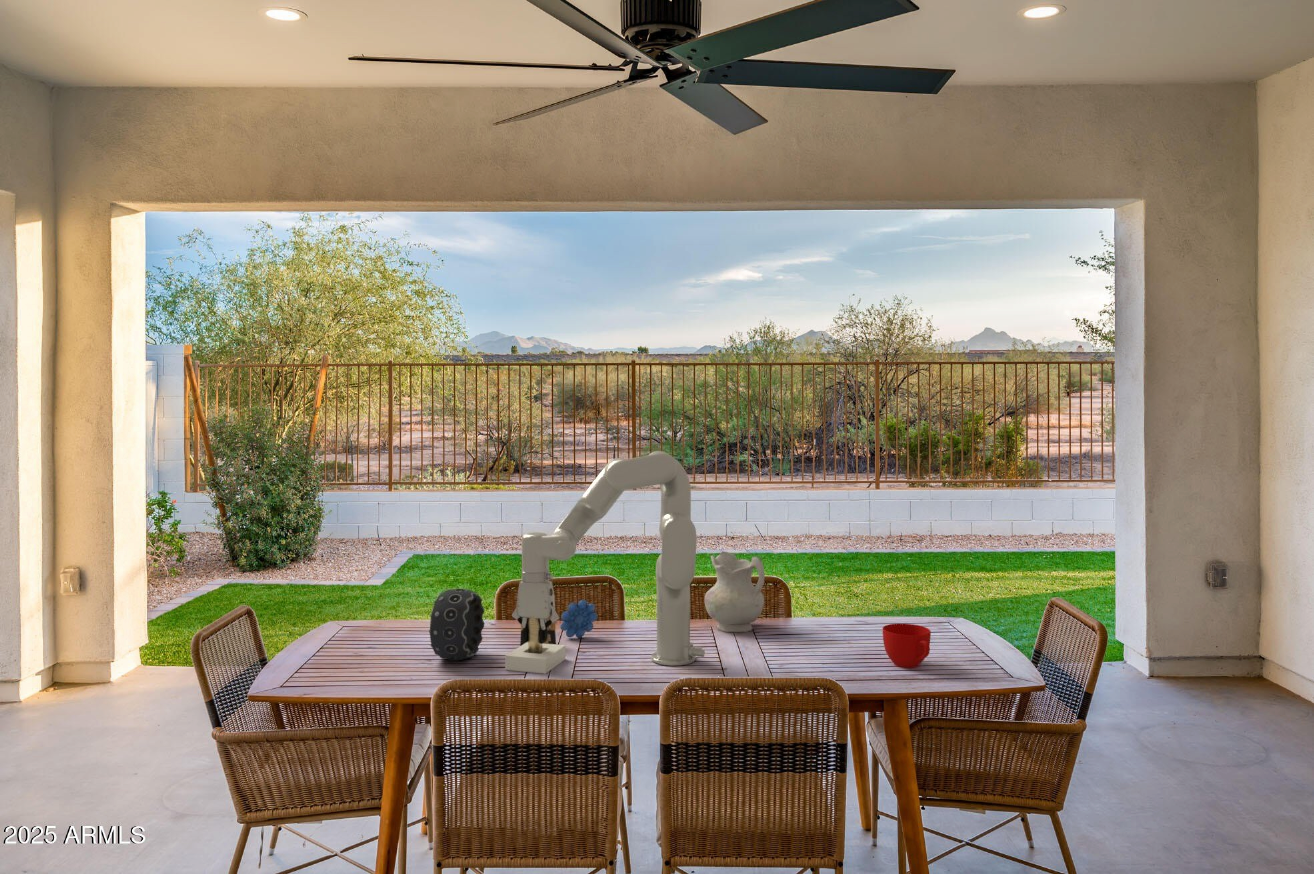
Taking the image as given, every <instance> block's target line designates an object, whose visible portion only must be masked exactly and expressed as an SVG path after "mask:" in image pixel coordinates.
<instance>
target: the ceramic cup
mask: <svg viewBox="0 0 1314 874" xmlns="http://www.w3.org/2000/svg"><path fill="white" fill-rule="evenodd" d="M931 633H932V632H931V629H929V628H927V627H925V626H923V625H918V624H912V623H891V624H886V625H884V626H882V642H883V647H884V650H885V653H886V655H887V656H888V658H889V659H890V661H891V662H892V663H893V665H895V666H896V667H899V668H903V669H905V668H906V669H914V668H918V667H919V665H921V663H922V662H923V661H925V659H926V658H927V657H928V656H929V654H930V651H931V647H930V646H931V645H930V644H931Z"/></svg>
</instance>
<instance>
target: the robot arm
mask: <svg viewBox="0 0 1314 874" xmlns="http://www.w3.org/2000/svg"><path fill="white" fill-rule="evenodd" d="M653 486H659V487H660V494H661V495H660V517H659V518H660V521H659V526H658V527H659V528H658V529H659V530H658V531H659V535H660V537H661V554H659V556H658V558H657V560H656V563H655V579H656V581H655V582H656V651H655V652H654V653H652V654H651V661H652V662H653V663H655V664H658V665H663V666H671V667H672V666H674V667H675V666H685V665H689V664H691V663H694V662H695V660H696V657H700V658H704V657H705V649H703V648H702V647H701V648H700V647H695V646H694V642H691V587H690V584H692V581H694V580H693V579H694V578H695V573H696V559H697V537H698V536H697V529H696V526H695V523H694V522H693V521H692V518H691V517H692V515H691V511H692V507H691V506H692V504H691V503H692V496H691V495H692V491H691V482H690V479H689V476H688V473H687V472H686V470H685V468H684V467H683V465H682V464H681V463H680V462H679V461H678V460H677V459H676V458H674V457H673V456H672V455H671V454H669V453H668V452H665V451H663V450H655V451H652V452H650V453H648V455H644V456H643V455H642V456H638V457H631V458H624V457H615V458H612V459H611V460H610V461H609V462H608V463H606V464H605V466H604V467H603V468H602V470H601V471H600V472H599V474H598V475H597V476H596V478H595V479H594V480H593V482H592V483H591V484H590V486H589V487H588V488H587V489H586V490H585V491H584V493H583V494H582V495H581V496H580V498H579V500H577V502H576V503H575V505H574V506H573V507H572V509H571V510H570V511H569V512H568V514H567V515H566V516H565V517H564V519H563V520H562V521H561V522H560V524H559V525H558V527H557V528H556V529H554V531H553V533H551V534H550V535H548V534H547V533H544V532H528V533H525V534H523V535H522V538H521V581H519V584H518V589H517V598H516V607H515V609H514V610H513V612H512V614H511V616H512V618H513V619H515V620H517V622H518V623H519V625H520V626H521V625H522V628H523V638H524V642H528V618H529V617H534V618H538V619H540V623H541V630H540V644H543V643H544V642H546V640H547V637H548V631H547V628H548V627H549V626H550V625H551V624H552V623H553V622H555V623H556V621H557V620H559V619H560V616H559V614H558V613H557V612H556V603H555V602H556V601H555V591H554V584H553V582H552V581H550V580H552V579H554V574H553V573H551V572H550V560H552V561H563V562H564V561H568V560H570V559H571V558H573V557H574V555H575V553H576V552H577V545H578V544H579V542H580V541H581V540H582V538H583V537H584V536H585V534H586V533H587V532H588V531H589V530H590V529H591V528H592V526H593V525H594V524H596V523H597V522H599V521H600V520H602V519H603V518H604V517H605V516H606V515H607V514H608V512H609V511H610V510H611V509H612V507H613V506H614V505H615V504H616V502H617V501H618V499H620V496H621V495H622V494H623V493H624V492H625V491H626V490H635V489H642V488H645V487H646V488H647V487H653ZM551 616H552V618H551ZM548 618H549V620H548Z"/></svg>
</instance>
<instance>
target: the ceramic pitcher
mask: <svg viewBox="0 0 1314 874" xmlns="http://www.w3.org/2000/svg"><path fill="white" fill-rule="evenodd" d="M710 561H711V563H712V566H713V568H714V570H715V572H716V582H715V584H714V585H713V586H712V587H711V588H710V589H708V591H706V593H705V594H704V604H705V610H706V612H707V614H708V615H709V617H710V618H711V619H712V620H713V621H715V622H717V623H718V624H717V626H716V629H718V630H719V631H721V632H724V633H746V632H749V631H753V626H752V625H751V624H752V623H754V622H755V621H756V620H758V618H759V617H760V615H761V614H762V612H763V609H764V605H765V599H764V598H765V597H764V593H762V589H763V586H764V584H765V567H764V564H763V561H762V558H761V557H759V556H751V561H749V560H748V559H744V558H741V559H740V558H739V559H738V558H737V557H736V555H735V553H730V552H728V551H721V552H719V553H718V555H717V556H716V557H715V556H714V555H710ZM754 569H756V570H757V573H758V574H757V575H758V579H757V582H756V584H755V585H754V584H753V582H752V576H753V572H754Z"/></svg>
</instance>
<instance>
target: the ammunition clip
mask: <svg viewBox="0 0 1314 874" xmlns="http://www.w3.org/2000/svg"><path fill="white" fill-rule="evenodd" d="M551 618H552V616H550V617H549V618H548V620H550V619H551ZM547 631H548V637H547V640H546V642H544V644H556V645H557V636H556V631H557V630H556V621H555V622H553V623H552V624H551V625H550V626H549V627H548V628H547ZM519 641H520V642H519V644H520V645H519V647H520V646H522V645H523V644H525V643H526V642H524V638H523V628H522V625H521V624H520V640H519Z"/></svg>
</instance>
